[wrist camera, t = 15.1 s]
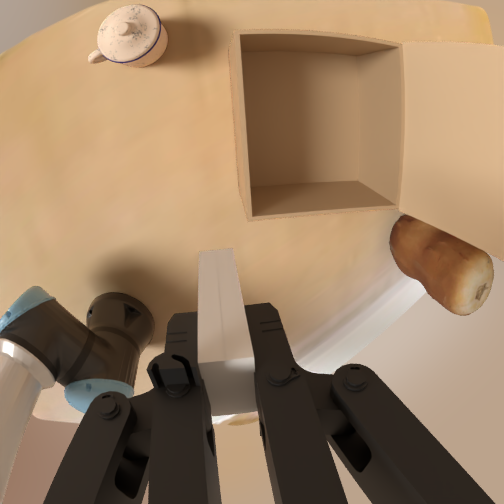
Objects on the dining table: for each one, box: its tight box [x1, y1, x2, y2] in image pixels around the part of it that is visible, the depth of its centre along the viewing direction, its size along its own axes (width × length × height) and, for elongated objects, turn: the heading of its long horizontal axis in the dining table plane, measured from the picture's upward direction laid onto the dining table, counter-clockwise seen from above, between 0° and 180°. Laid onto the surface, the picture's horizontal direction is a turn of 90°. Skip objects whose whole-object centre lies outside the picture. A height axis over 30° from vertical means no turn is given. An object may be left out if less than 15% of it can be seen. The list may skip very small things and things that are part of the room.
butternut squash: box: [389, 215, 494, 316], centre depth 48 cm, size 14×13×25 cm
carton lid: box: [399, 41, 504, 261], centre depth 26 cm, size 25×22×1 cm
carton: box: [228, 29, 405, 222], centre depth 40 cm, size 24×22×14 cm
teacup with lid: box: [88, 5, 168, 67], centre depth 32 cm, size 12×9×12 cm
